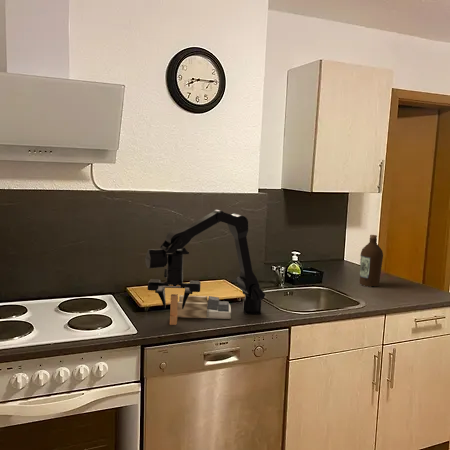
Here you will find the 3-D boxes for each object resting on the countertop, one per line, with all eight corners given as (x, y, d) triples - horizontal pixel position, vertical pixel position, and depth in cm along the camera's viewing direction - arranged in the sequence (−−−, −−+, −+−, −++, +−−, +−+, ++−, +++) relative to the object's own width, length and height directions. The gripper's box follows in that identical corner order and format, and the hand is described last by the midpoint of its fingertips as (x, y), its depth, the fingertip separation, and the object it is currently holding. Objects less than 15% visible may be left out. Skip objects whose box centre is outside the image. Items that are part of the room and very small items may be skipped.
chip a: (217, 311, 186) (228, 311, 187) (217, 314, 182) (228, 314, 183) (218, 301, 186) (228, 301, 186) (218, 304, 182) (228, 304, 182)
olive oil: (370, 281, 245) (375, 233, 242) (384, 286, 235) (389, 236, 232) (353, 282, 241) (357, 233, 237) (367, 288, 231) (371, 237, 228)
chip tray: (229, 310, 190) (230, 304, 190) (230, 318, 180) (231, 312, 180) (207, 309, 190) (207, 303, 189) (206, 318, 180) (207, 311, 179)
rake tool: (177, 318, 178) (178, 292, 176) (176, 324, 171) (177, 297, 170) (170, 318, 177) (171, 292, 176) (169, 324, 171) (170, 297, 170)
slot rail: (206, 309, 190) (207, 296, 189) (206, 318, 180) (207, 303, 179) (179, 308, 189) (179, 295, 189) (177, 317, 179) (177, 302, 179)
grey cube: (217, 307, 186) (218, 297, 186) (217, 310, 182) (219, 300, 182) (207, 305, 186) (208, 295, 186) (206, 309, 182) (208, 299, 182)
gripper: (201, 262, 180) (200, 302, 182) (151, 260, 179) (151, 300, 181) (200, 269, 169) (199, 312, 171) (147, 267, 168) (146, 310, 170)
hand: (173, 308), depth 174 cm, fingers open, 6 cm apart
